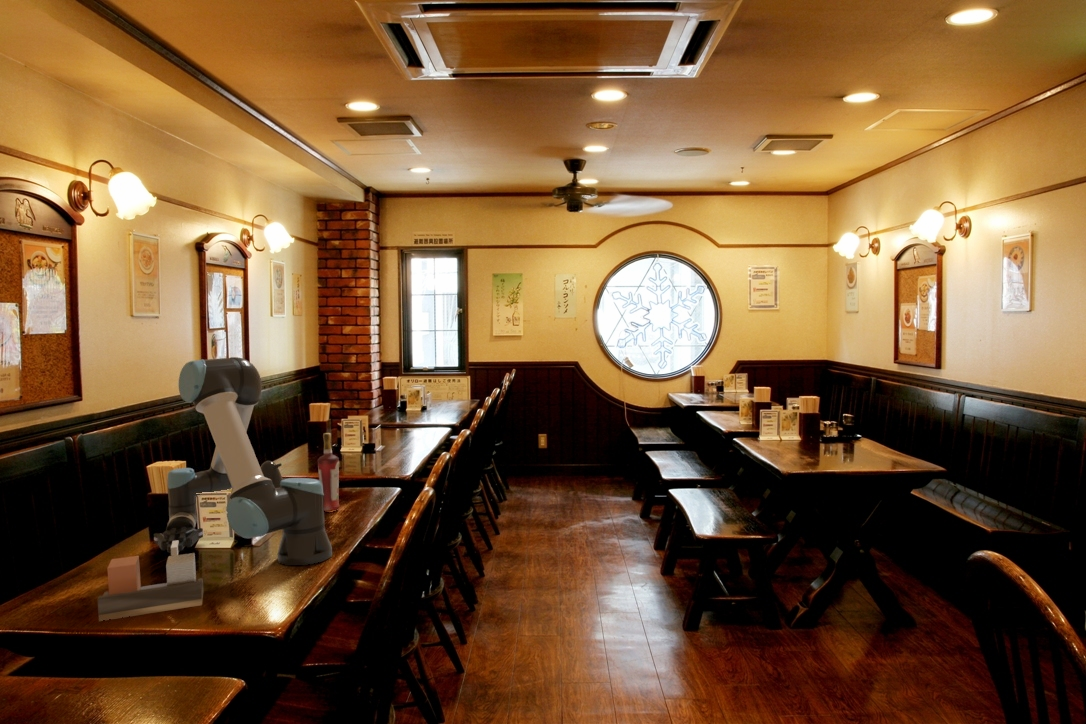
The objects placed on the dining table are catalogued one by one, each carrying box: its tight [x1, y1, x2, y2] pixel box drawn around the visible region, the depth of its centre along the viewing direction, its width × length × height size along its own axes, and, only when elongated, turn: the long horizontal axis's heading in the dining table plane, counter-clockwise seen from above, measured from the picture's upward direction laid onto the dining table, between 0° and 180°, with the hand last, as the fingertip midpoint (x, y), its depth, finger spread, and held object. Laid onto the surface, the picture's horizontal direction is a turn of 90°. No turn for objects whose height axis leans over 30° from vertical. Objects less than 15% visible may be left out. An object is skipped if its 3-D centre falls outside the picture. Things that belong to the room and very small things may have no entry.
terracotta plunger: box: [106, 555, 142, 595], centre depth 183 cm, size 7×6×9 cm
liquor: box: [317, 432, 341, 511], centre depth 263 cm, size 7×7×28 cm
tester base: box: [97, 577, 204, 622], centre depth 182 cm, size 10×22×6 cm, turn 113°
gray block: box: [165, 552, 197, 586], centre depth 184 cm, size 7×6×9 cm
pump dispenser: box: [260, 460, 283, 488], centre depth 280 cm, size 10×10×15 cm
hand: (174, 552), depth 197 cm, fingers closed
